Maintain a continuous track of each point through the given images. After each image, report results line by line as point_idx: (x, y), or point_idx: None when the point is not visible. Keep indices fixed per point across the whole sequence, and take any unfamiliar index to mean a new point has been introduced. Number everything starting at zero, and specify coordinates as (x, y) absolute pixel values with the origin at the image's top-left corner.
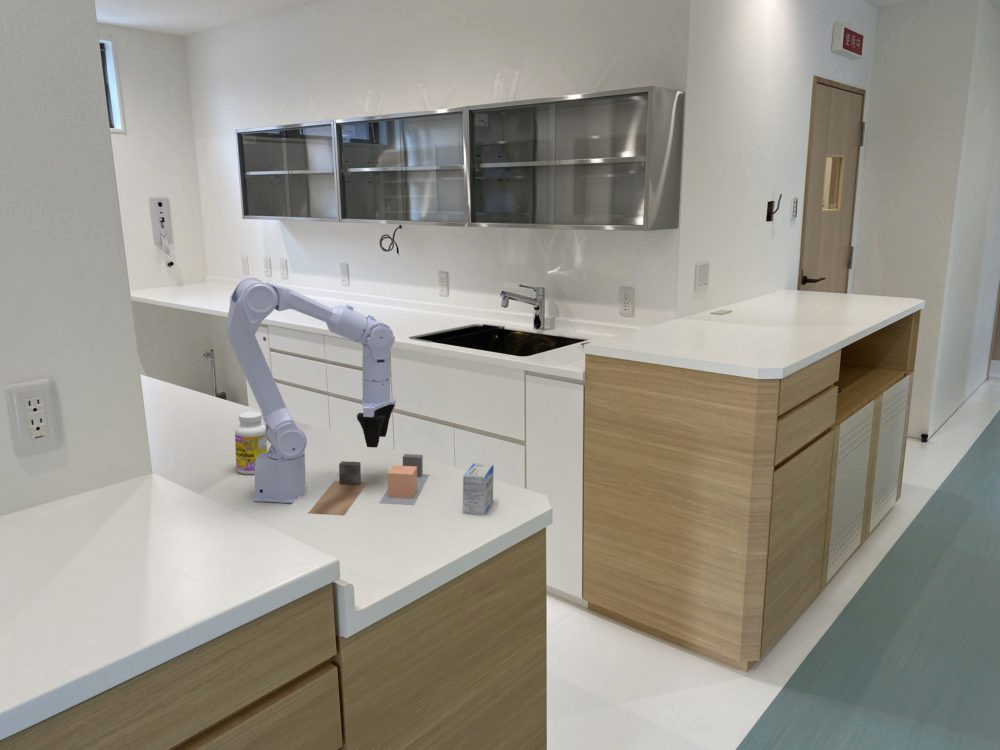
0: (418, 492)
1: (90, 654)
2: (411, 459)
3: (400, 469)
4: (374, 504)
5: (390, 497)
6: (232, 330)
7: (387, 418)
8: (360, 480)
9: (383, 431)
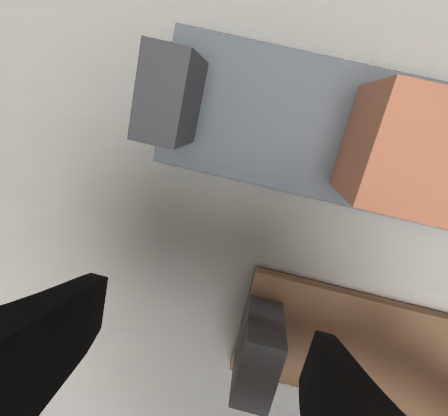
0: None
1: None
2: (184, 102)
3: (431, 171)
4: (437, 246)
5: None
6: None
7: (20, 341)
8: (251, 298)
9: (89, 305)
